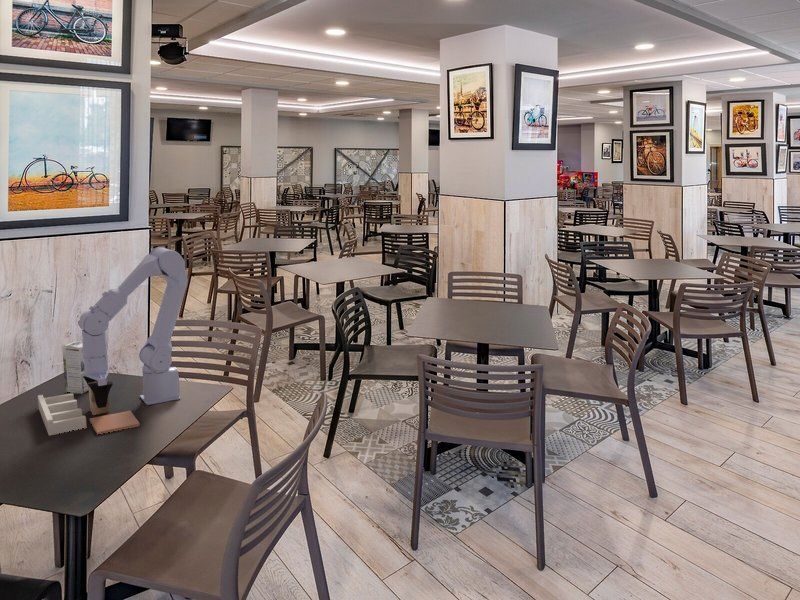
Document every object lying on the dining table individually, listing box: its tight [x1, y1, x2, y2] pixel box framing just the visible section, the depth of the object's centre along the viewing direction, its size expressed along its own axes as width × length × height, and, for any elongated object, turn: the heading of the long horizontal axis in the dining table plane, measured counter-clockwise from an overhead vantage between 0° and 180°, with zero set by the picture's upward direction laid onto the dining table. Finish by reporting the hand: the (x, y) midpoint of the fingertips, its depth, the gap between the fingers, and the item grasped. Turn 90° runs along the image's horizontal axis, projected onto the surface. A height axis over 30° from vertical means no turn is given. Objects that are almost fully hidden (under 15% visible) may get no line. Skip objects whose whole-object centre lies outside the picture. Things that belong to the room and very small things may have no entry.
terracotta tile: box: [89, 410, 141, 436], centre depth 153 cm, size 10×10×1 cm
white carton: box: [61, 340, 89, 395], centre depth 173 cm, size 6×6×14 cm
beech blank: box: [88, 382, 110, 416], centre depth 159 cm, size 4×4×8 cm
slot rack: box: [37, 393, 88, 437], centre depth 154 cm, size 8×20×4 cm, turn 37°
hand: (99, 402), depth 160 cm, fingers open, 7 cm apart
